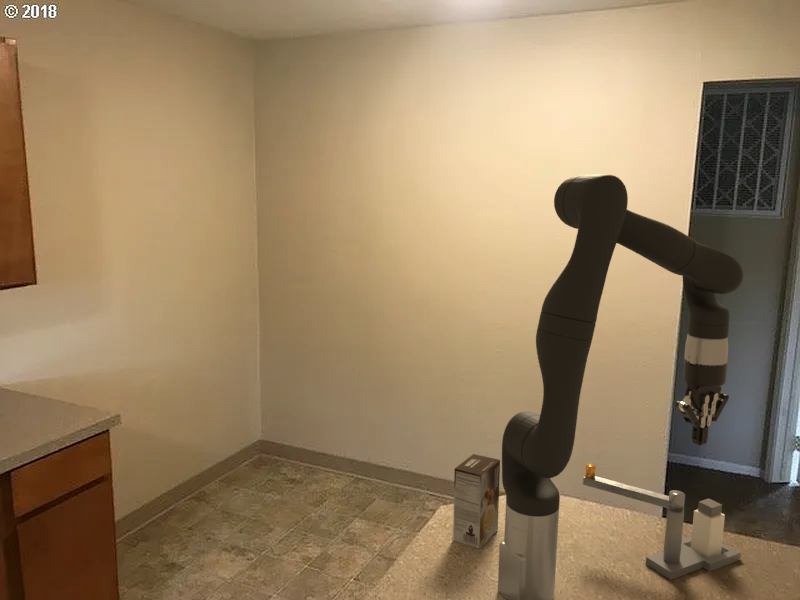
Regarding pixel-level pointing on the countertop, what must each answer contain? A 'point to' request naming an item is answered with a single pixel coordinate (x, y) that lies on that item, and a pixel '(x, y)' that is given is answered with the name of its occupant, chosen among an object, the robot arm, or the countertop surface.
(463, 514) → the coffee box
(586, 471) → the long flat grey beam
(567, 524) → the countertop surface
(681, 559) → the dock
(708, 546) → the plug
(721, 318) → the robot arm
